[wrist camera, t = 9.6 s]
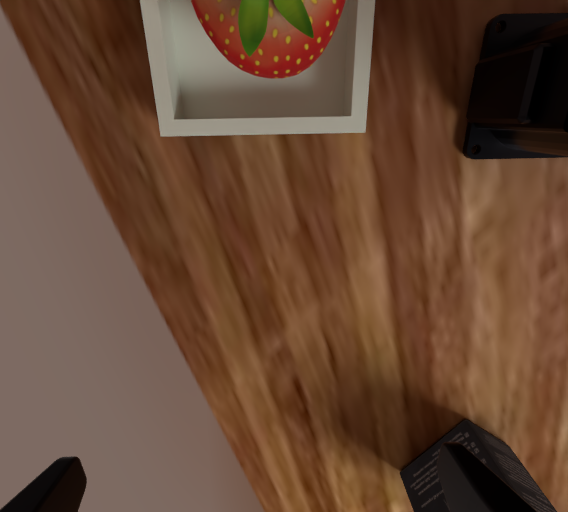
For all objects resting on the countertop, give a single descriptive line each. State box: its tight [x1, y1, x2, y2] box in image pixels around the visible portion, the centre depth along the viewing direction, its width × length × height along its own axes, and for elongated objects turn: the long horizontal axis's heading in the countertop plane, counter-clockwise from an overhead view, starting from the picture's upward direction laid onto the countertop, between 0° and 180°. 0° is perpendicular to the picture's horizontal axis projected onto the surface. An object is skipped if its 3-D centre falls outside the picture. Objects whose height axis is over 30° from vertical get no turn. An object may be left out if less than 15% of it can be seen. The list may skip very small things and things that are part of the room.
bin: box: [140, 0, 375, 136], centre depth 14 cm, size 9×9×2 cm
